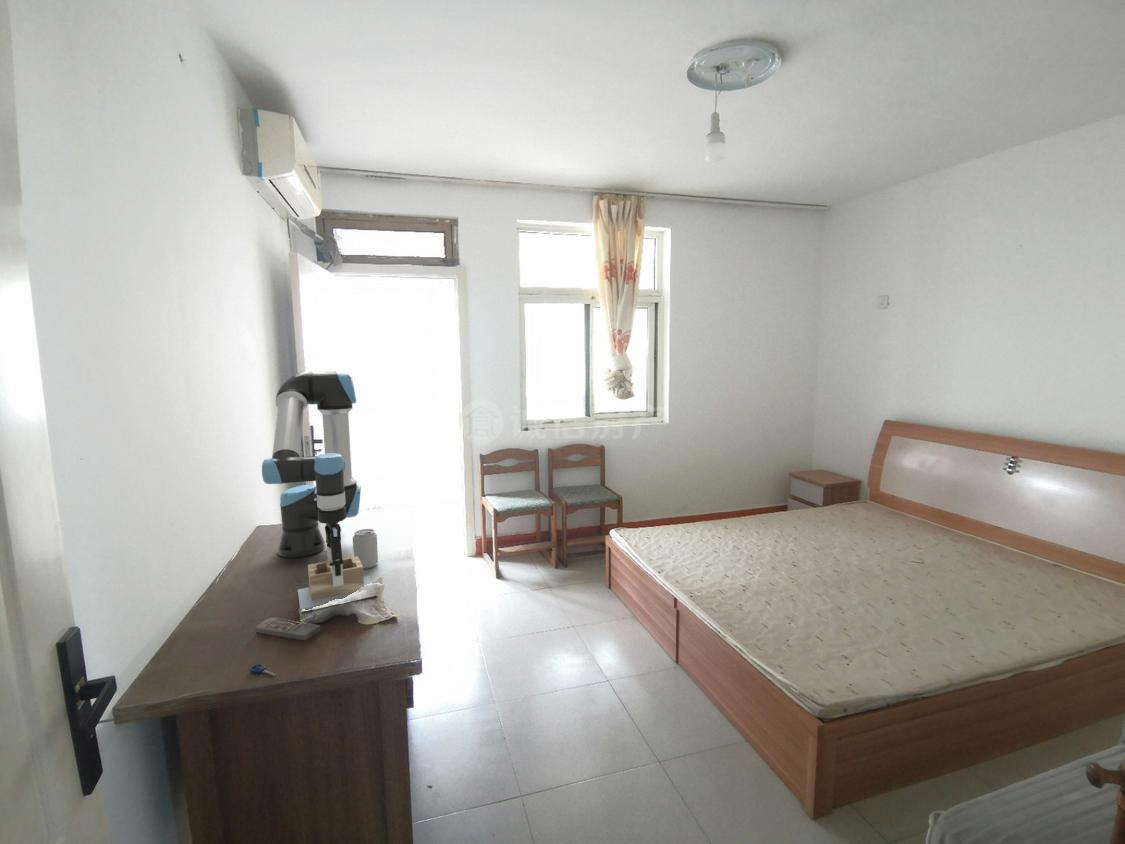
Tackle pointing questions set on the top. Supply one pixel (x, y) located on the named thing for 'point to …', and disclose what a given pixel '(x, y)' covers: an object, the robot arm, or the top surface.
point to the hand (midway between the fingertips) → (335, 576)
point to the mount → (308, 604)
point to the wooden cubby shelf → (324, 580)
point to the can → (366, 547)
